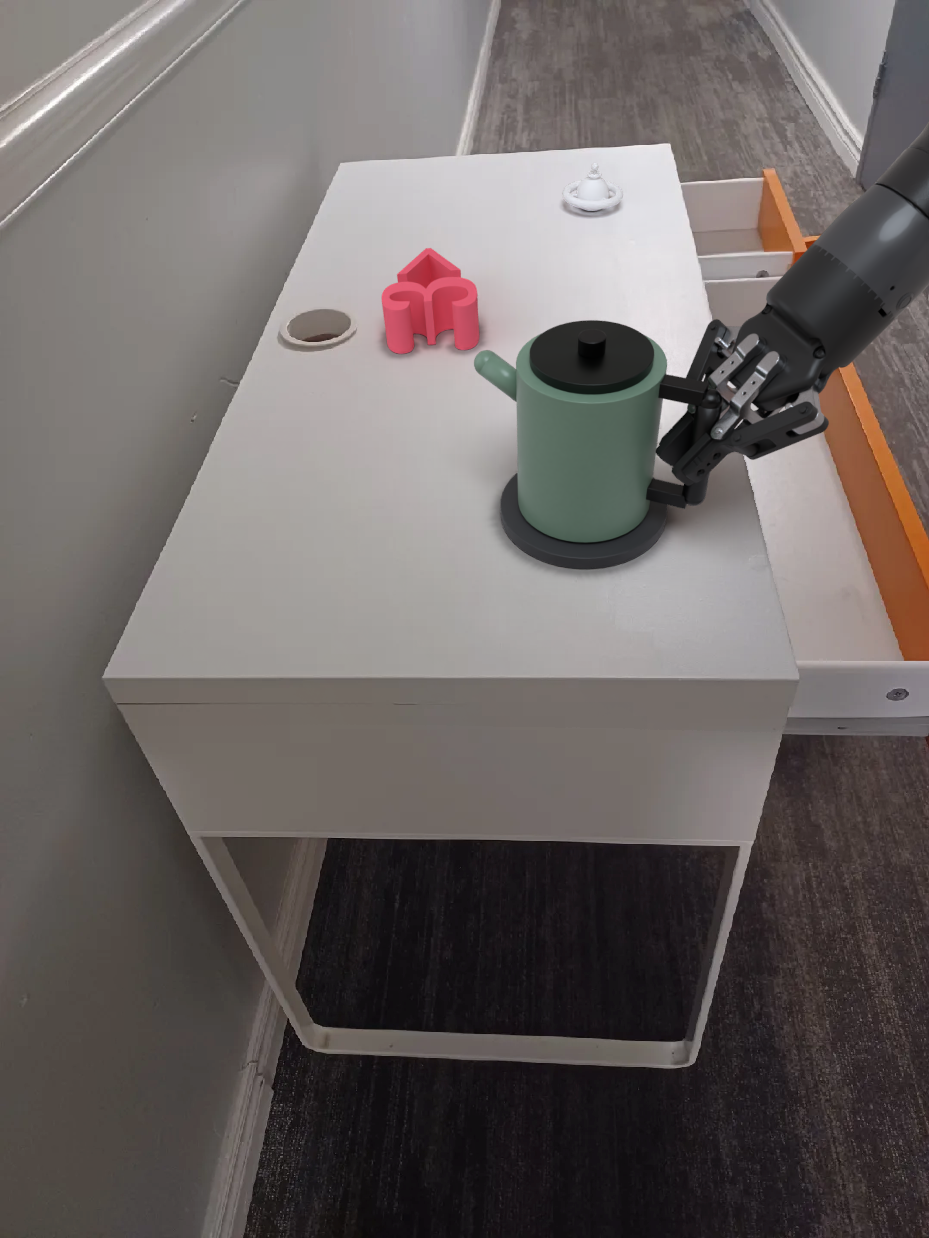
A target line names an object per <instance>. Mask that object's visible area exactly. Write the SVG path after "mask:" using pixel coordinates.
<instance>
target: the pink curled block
mask: <svg viewBox="0 0 929 1238" xmlns="http://www.w3.org/2000/svg"><path fill="white" fill-rule="evenodd" d="M396 278H397V282H393V283H391V284H389V285H388V286H387V287H385V288H384V289H383V291H382V292H381V293H382V294H381V306H382V313H383V321H384V329H385V337H386V342H387V348H388V349H389V350H390V351H391V352H393V353H395V354H399V355H402V354H408V353H411V352H412V351H413V350H414V348H415V339H414V335H415V334H416V335H422V336H424V337H425V338H426V340H427V345H428V346H433V345H436V342H437V341H436V338H437V336H438V335H439V334H440V333H442V332H445V331H449V330H453V337H454V347H455V348H456V349H457V350H460V351H461V350H462V351H467V350H471V349H473V348H475V347H476V346H477V345H478V343H479V341H480V321H479V304H478V302H479V301H478V300H479V299H478V298H479V297H478V289H477V286H476V284H475V283H474V282H473V281H472V280H470V279H468V278H465V277H462V270H461V268H459V267H458V266H456V265H455V264H453V263H452V262H450V260H448V259H447V258H446V257H444V256H442V255H441V254H439V253H438V252H437V251H436V250H435V249H433V248H432V247H426V248H424V249H423V250H422V251H421V252H420V253H419V254H418V255H416V256H415V257H414V258H413V259H412V260H411V261H410V262H409V263H407V264H406V265H405V266H404V267H403V268H402V269H401V270H399V272H398V273H397V274H396Z"/></svg>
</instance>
